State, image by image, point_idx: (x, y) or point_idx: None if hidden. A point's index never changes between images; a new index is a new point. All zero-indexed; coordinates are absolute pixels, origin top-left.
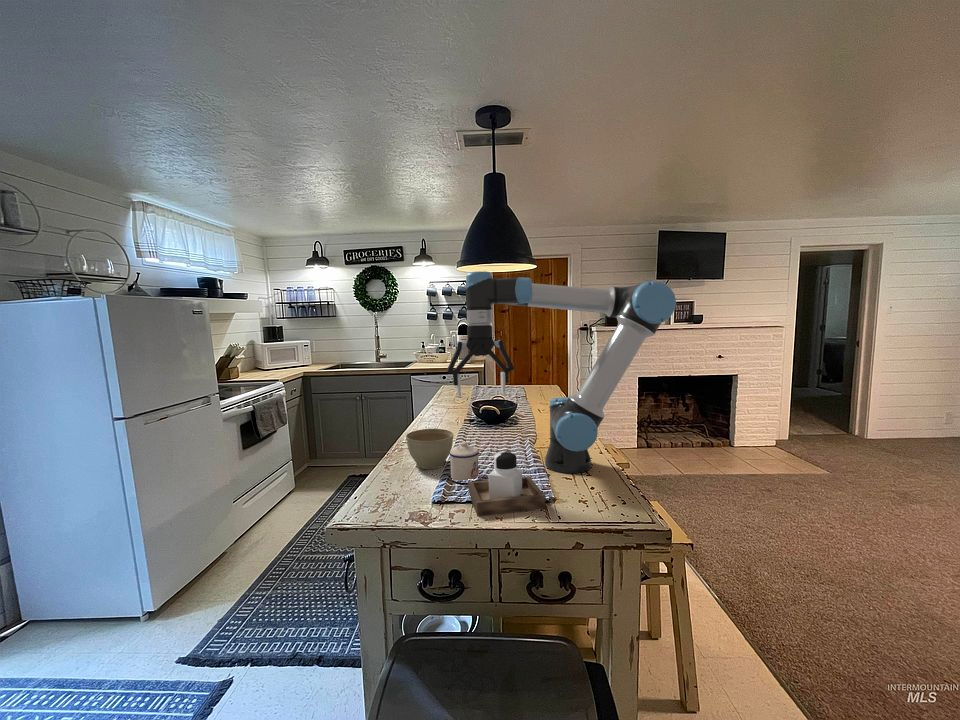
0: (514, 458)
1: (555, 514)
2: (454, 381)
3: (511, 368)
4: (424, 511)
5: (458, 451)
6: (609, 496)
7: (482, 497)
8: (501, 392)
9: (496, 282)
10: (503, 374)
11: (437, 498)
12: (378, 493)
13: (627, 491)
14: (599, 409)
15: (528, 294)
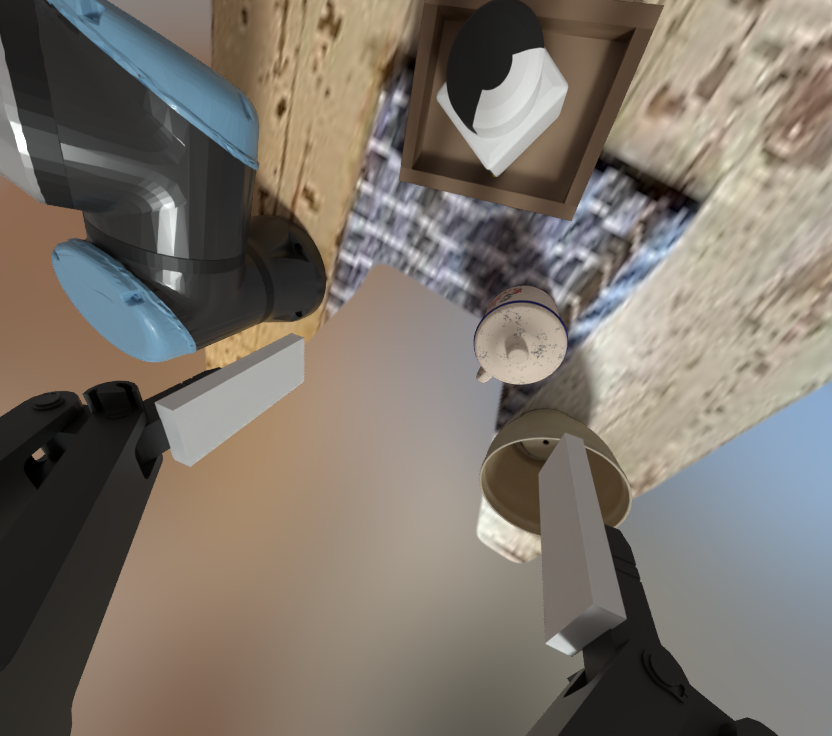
0: (471, 15)
1: None
2: (631, 569)
3: (57, 403)
4: (770, 151)
5: (548, 335)
6: (263, 29)
7: (567, 142)
8: (301, 374)
9: None
10: (179, 400)
11: (664, 232)
12: (792, 351)
13: (218, 46)
14: None
15: None
